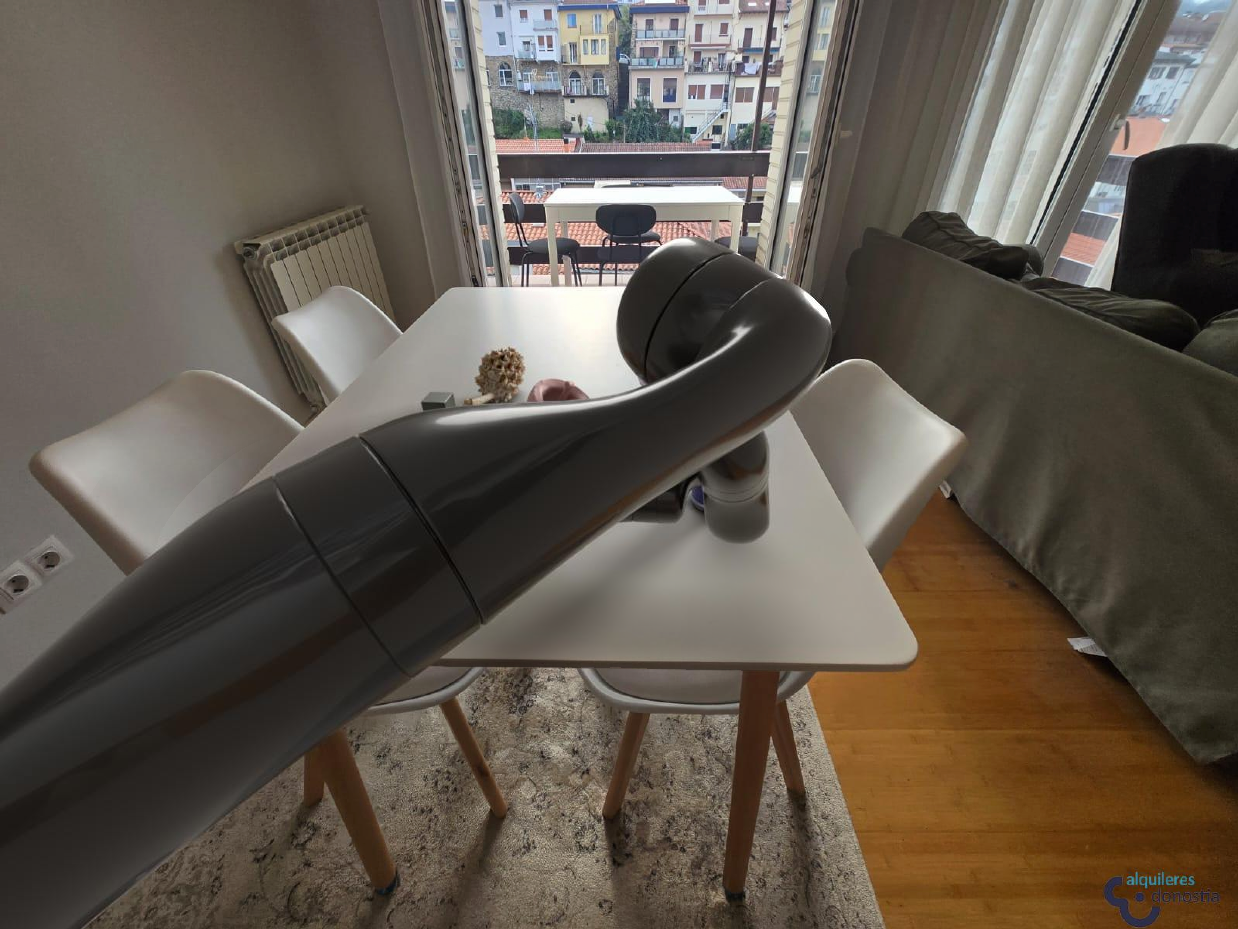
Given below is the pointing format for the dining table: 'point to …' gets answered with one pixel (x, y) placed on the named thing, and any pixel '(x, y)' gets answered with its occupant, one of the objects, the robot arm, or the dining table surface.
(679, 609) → the dining table surface
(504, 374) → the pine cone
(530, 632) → the dining table surface
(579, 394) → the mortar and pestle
